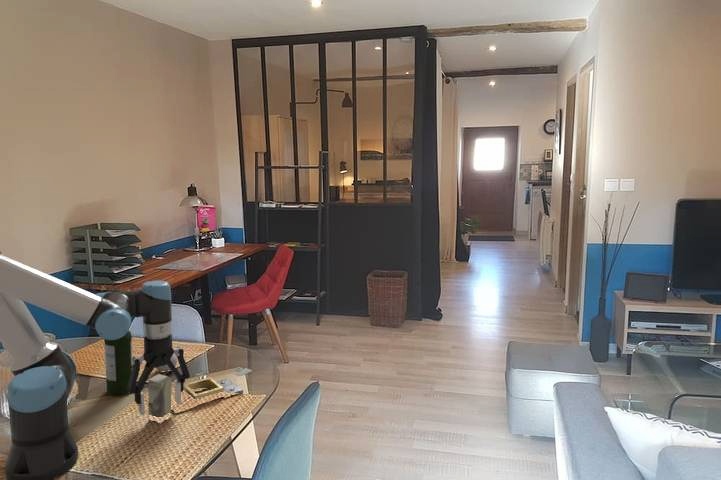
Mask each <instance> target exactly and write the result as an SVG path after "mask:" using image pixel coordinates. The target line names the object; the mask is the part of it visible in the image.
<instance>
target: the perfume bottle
mask: <svg viewBox="0 0 721 480" xmlns="http://www.w3.org/2000/svg"><path fill="white" fill-rule="evenodd" d="M170 360H171V362H172V363H173V365H174V366H175V367H176V366H177V363H178V359H177V356H176V355H175V353H174V354H173V355H172V357H171V359H170ZM155 370H157V371H158V370H159V371H158V372H160V371H168V370H170V368H169V367H168V366H167V364H166V365H165V366H159V367H157V368H155Z"/></svg>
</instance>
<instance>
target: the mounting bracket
mask: <svg viewBox="0 0 721 480" xmlns="http://www.w3.org/2000/svg"><path fill="white" fill-rule="evenodd" d="M252 372H253V370H252V369H250V368H247V367H245V368H241V367H235V368H234V371H232V372H231V373H232V374H234V375H236V376H238V377H242V376H245V375H247V374H249V373H252Z"/></svg>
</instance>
